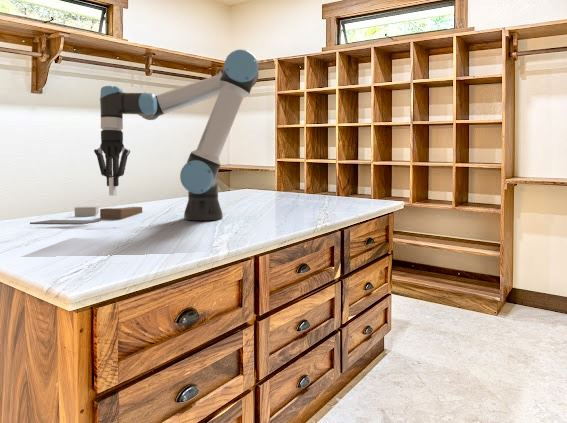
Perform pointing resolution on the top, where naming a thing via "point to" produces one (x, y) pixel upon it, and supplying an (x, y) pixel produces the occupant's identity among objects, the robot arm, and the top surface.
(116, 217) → the wooden block
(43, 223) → the charcoal mat
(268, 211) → the top surface
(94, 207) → the smooth beige box
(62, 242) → the top surface
